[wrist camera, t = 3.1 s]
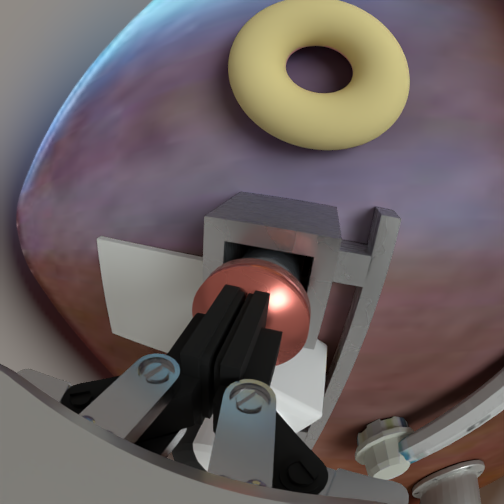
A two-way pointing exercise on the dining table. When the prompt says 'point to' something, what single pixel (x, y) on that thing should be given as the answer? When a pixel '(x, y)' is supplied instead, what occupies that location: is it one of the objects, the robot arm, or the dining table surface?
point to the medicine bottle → (287, 404)
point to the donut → (310, 103)
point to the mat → (148, 291)
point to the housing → (320, 271)
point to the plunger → (271, 281)
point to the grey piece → (426, 432)
